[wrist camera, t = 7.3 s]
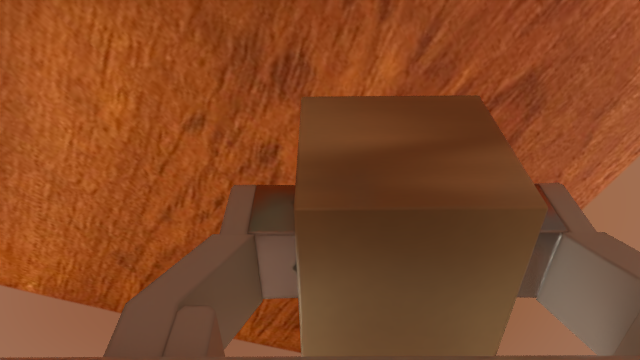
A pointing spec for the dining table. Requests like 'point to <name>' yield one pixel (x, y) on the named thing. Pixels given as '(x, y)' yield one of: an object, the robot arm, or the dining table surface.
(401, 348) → the block
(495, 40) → the dining table surface
